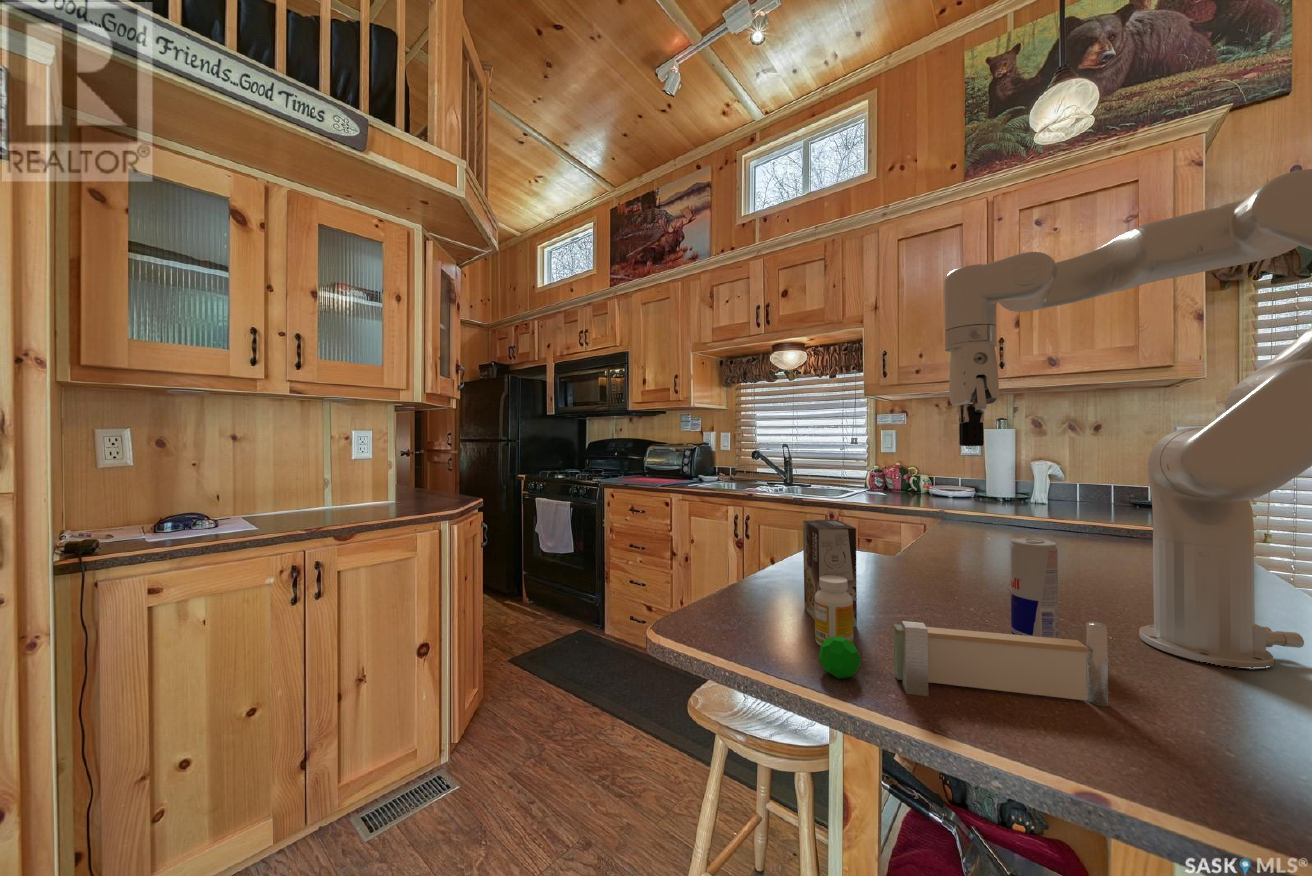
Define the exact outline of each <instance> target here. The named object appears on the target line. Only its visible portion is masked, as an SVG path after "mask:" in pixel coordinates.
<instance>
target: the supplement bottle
mask: <svg viewBox="0 0 1312 876" xmlns="http://www.w3.org/2000/svg"><path fill="white" fill-rule="evenodd" d="M819 587H820V588H821V590H819V591H817V592H816V594H815V620H814V639H815V642H816V644H817V645H818V646H820V647H821V644H822V643H823V642H824V641H825V640H826V639H828V638H831V637H839V636H841V637H843V638H845V639H847V640H848V641H850V642H851V643H853V644H854V627H853V600H852V597H851V596H850V595H849V594H848V593H847V592H846V591H847V588H848V582H847V579H846V578H843V577H840V576H832V575H826V576H821V577H820V578H819Z"/></svg>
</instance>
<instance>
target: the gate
mask: <svg viewBox="0 0 1312 876" xmlns="http://www.w3.org/2000/svg"><path fill="white" fill-rule="evenodd" d="M926 627H927V629H928V683H933V684H941V685H951V686H959V687H966V688H967V687H968V688H976V689H983V690H994V691H1001V692H1009V693H1018V694H1019V693H1020V694H1027V695H1035V696H1037V695H1038V696H1045V697H1053V698H1062V699H1069V700H1070V699H1071V700H1079V701H1086V702H1088V700H1087V647H1086V645H1085V644H1084V643H1082V642H1081V641H1080V640H1077V639H1067V638H1059V637H1058V638H1047V637H1036V636H1024V635H1013V634H1012V633H1010V634H1009V633H1000V632H999V633H998V632H991V631H990V632H987V631H977V630H967V629H966V630H965V629H953V628H943V627H934V626H933V627H932V626H926ZM893 672H894V675H895V677H896V679H897V680H901V681H903V671H902V624H897V623H894V624H893Z"/></svg>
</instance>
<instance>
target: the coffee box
mask: <svg viewBox="0 0 1312 876" xmlns="http://www.w3.org/2000/svg"><path fill="white" fill-rule="evenodd" d="M802 542H803V543H802V544H803V545H802V547H803V548H802V549H803V550H802V552H803V553H802V554H803V556H802V557H803V594H804V596H803V598H804V602H803V603H804V606H803V607H804V609H805V611H807V614H809V616H811V618H812V619H813V620H814V621H815V594H816V592H817V591H819V590H821V588H820V587H819V578H820V577H821V576H826V575H832V576H840V577H843V578H846V579H847V582H848V588H847V591H846V592H847V593H848V594H849V595H850V596H851V597H852V600H853V628H855V627H856V628H857V625H858V621H857V620H858V613H857V612H858V610H857V605H858V604H857V602H858V601H857V600H858V598H857V594H858V593H857V528H856V527H855V526H851V525H850V524H848V523H846V522H843V521H841V520H838V519H814V520H802Z"/></svg>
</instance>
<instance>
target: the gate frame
mask: <svg viewBox="0 0 1312 876" xmlns="http://www.w3.org/2000/svg"><path fill="white" fill-rule="evenodd" d="M901 625H902V671H903V680H902V688H903V690H904V692H905V694H906V695H913V696H923V697H929V682H928V629H927V627H928V626H926V624H925V623H924V622H917V621H907V620H902V621H901ZM1085 626H1086V627H1085V631H1086V632H1085V635H1086V636H1085V637H1086V639H1085V640H1086V641H1085V642H1086V645H1085V646H1086V647H1087V652H1086V676H1087V702H1088V703H1090V704H1092V705H1094V706H1098V707H1108V706H1109V672H1108V671H1109V669H1108V667H1109V665H1108V663H1109V662H1108V659H1109V657H1108V654H1109V653H1108V650H1109V649H1108V648H1109V647H1108V625H1107V624H1105V623H1103V622H1100V621H1099V622H1098V621H1094V620H1093V621H1092V620H1091V621H1090V620H1089V621H1088V620H1087V621H1085Z"/></svg>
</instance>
